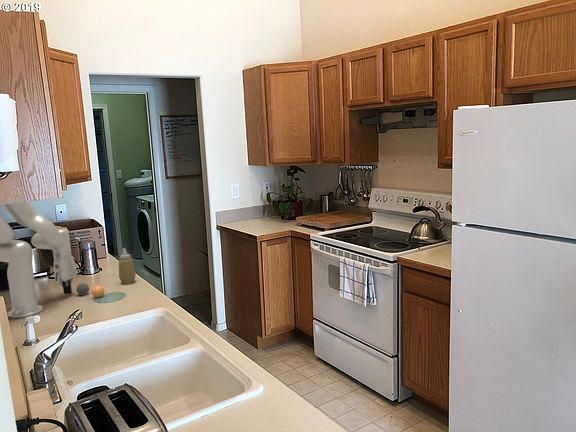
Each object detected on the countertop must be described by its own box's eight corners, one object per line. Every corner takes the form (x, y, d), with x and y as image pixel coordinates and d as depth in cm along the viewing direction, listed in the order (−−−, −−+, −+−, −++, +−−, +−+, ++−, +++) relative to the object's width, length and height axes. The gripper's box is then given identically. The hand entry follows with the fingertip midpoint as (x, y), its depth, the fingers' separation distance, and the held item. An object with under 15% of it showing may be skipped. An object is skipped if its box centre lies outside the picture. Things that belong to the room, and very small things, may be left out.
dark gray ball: (74, 283, 221) (74, 294, 219) (85, 280, 221) (85, 291, 219) (80, 286, 226) (80, 297, 224) (91, 284, 226) (91, 294, 224)
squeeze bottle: (122, 286, 233) (117, 250, 230) (117, 282, 239) (113, 248, 236) (138, 282, 237) (134, 248, 234) (133, 279, 244) (130, 245, 241)
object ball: (88, 297, 216) (99, 301, 215) (89, 287, 214) (99, 292, 213) (96, 291, 221) (106, 295, 220) (97, 281, 219) (107, 286, 218)
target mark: (118, 302, 209) (118, 301, 209) (88, 303, 210) (87, 303, 210) (130, 292, 223) (130, 291, 223) (101, 293, 223) (101, 292, 223)
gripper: (58, 259, 210) (64, 299, 213) (80, 251, 224) (85, 288, 227) (44, 259, 212) (49, 298, 215) (66, 251, 226) (71, 288, 229)
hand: (67, 293), depth 221 cm, fingers closed
